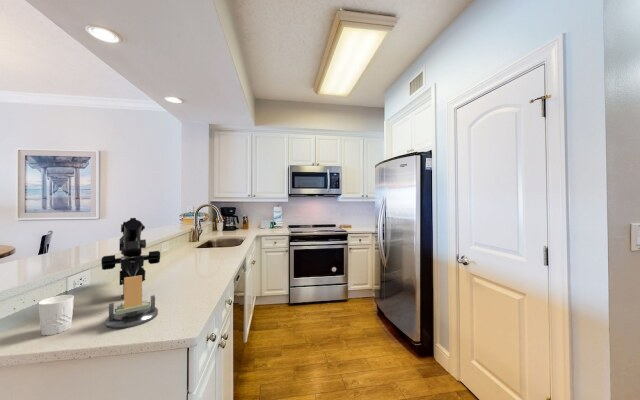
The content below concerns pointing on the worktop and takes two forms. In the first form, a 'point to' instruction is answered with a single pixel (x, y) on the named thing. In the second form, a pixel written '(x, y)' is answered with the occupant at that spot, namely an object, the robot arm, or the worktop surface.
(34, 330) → the worktop surface
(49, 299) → the white cup
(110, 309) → the base
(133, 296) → the orange and green block
